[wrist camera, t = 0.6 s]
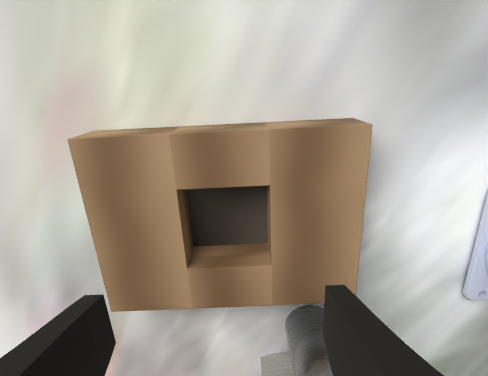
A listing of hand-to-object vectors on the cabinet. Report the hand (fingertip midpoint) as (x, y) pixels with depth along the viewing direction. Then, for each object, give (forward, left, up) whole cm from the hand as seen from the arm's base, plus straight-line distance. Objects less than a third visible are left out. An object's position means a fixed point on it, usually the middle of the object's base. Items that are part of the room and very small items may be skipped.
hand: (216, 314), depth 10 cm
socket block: (0, 0, -8) cm, 8 cm away
